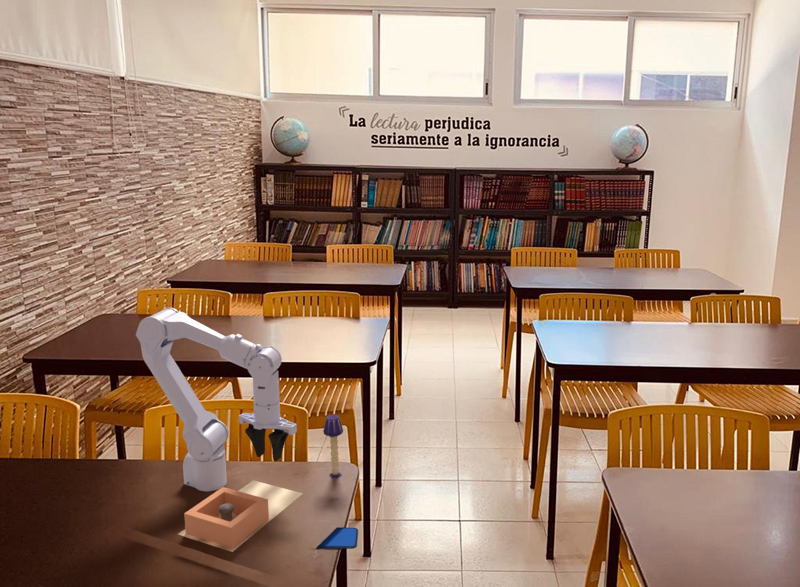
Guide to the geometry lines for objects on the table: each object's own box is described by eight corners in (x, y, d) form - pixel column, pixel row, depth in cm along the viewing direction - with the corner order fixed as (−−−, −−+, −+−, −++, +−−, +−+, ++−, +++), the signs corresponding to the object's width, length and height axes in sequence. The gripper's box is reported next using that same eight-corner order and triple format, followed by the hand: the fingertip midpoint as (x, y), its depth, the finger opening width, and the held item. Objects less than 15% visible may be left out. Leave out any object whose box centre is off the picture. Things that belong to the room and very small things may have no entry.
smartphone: (356, 547, 137) (282, 546, 137) (356, 551, 138) (282, 550, 137) (358, 527, 144) (287, 526, 144) (358, 530, 145) (287, 530, 144)
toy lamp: (339, 487, 162) (338, 421, 158) (321, 484, 163) (319, 418, 159) (347, 478, 166) (346, 413, 162) (329, 475, 167) (328, 411, 164)
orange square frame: (185, 533, 140) (184, 513, 139) (224, 505, 150) (222, 486, 149) (232, 548, 135) (231, 527, 134) (268, 518, 145) (268, 499, 144)
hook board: (178, 540, 140) (176, 515, 139) (253, 486, 162) (252, 464, 161) (232, 558, 134) (231, 532, 133) (303, 499, 156) (302, 476, 155)
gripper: (229, 402, 152) (232, 458, 155) (283, 413, 146) (285, 471, 149) (248, 391, 159) (251, 445, 162) (301, 402, 153) (303, 458, 156)
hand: (268, 457), depth 156 cm, fingers open, 4 cm apart
